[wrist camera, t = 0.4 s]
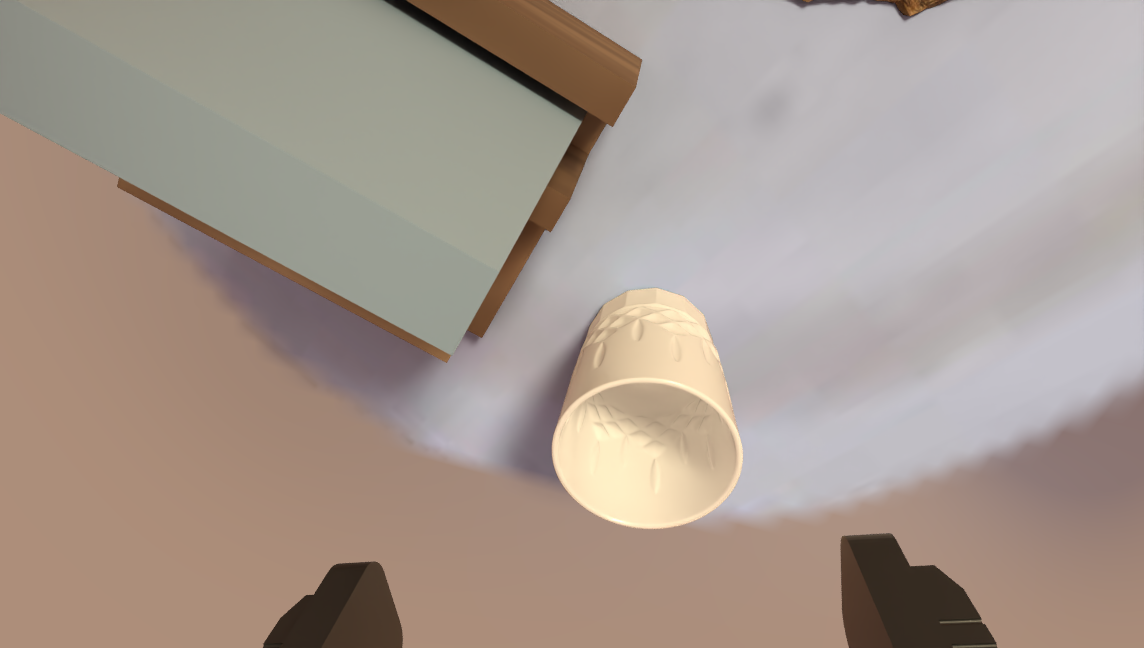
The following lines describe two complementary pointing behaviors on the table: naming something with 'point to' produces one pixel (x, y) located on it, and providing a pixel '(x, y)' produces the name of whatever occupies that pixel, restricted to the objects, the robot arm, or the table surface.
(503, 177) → the tall board
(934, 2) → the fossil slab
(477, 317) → the rack
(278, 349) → the table surface
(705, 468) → the white cup
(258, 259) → the short oak offcut
